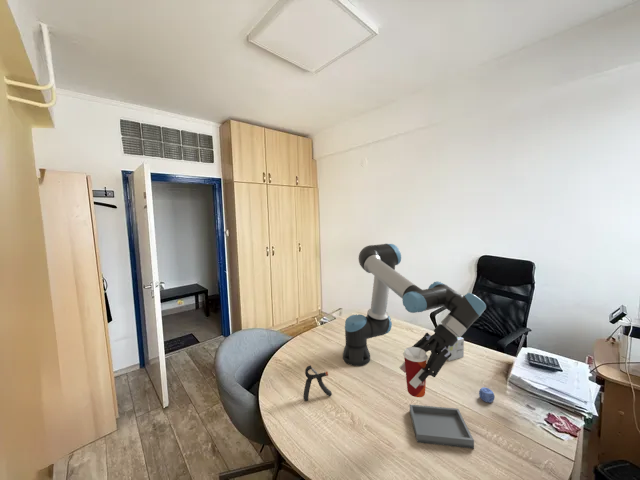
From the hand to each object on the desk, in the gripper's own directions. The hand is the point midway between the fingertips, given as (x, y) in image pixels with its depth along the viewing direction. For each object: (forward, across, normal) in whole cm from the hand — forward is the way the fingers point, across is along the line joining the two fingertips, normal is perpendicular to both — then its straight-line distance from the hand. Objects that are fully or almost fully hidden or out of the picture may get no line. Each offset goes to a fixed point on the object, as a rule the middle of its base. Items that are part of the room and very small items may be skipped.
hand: (406, 377), depth 90 cm
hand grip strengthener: (+37, +20, +8) cm, 43 cm away
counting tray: (+6, 0, -22) cm, 23 cm away
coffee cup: (+2, 0, -6) cm, 7 cm away
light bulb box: (-16, +44, -46) cm, 66 cm away
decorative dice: (-13, +11, -42) cm, 46 cm away
